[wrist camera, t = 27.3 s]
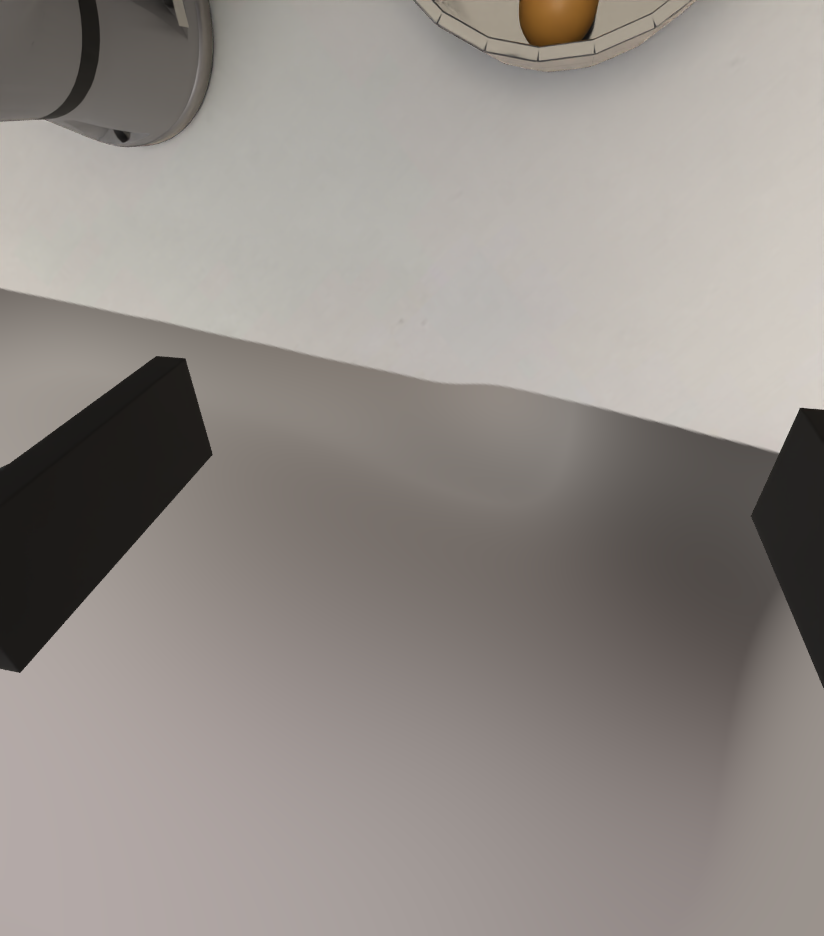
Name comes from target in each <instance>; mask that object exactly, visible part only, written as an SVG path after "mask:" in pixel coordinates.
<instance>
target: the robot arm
mask: <svg viewBox="0 0 824 936" xmlns="http://www.w3.org/2000/svg"><path fill="white" fill-rule="evenodd" d="M212 56H213V33H212V21H211V13H210V8H209V2H208V0H0V121H20V120H40V119H45V120H47V121H50V122H52V123H54V124H57V125H59V126H62V127H64V128H67V129H69V130H71V131H74V132H76V133H79V134H81V135H84V136H86V137H88V138H91V139H93V140H96V141H99V142H103V143H106V144H110V145H115V146H121V147H137V146H147V145H154V144H158V143H161V142H164V141H166V140H168V139H170V138H172V137H174V136H175V135H177V134H178V133H179V132H181V131H182V130H183V129H184V128H185V127H186V126H187V125H188V124H189V122H190V121H191V120H192V119H193V117H194V116H195V114H196V112H197V111H198V109H199V107H200V105H201V103H202V101H203V98H204V95H205V93H206V90H207V86H208V82H209V78H210V73H211V66H212ZM211 456H212V451H211V447H210V444H209V440H208V437H207V433H206V430H205V426H204V423H203V419H202V416H201V412H200V409H199V405H198V402H197V398H196V394H195V391H194V387H193V384H192V380H191V377H190V373H189V370H188V367H187V363H186V359H184V358H173V357H160V356H156V357H155V358H153V359H152V360H150V361H149V362H148V363H146V364H145V365H144V366H142V367H141V368H140V369H138V370H137V371H135V372H134V373H133V374H131V375H130V376H129V377H127V378H126V379H124V380H123V381H122V382H120V383H119V384H118V385H116V386H115V387H114V388H112V389H111V390H110V391H108V392H107V393H105V394H104V395H103V396H101V397H100V398H98V399H97V400H96V401H94V402H93V403H92V404H90V405H89V406H88V407H86V408H85V409H84V410H82V411H81V412H79V413H78V414H77V415H75V416H74V417H73V418H71V419H70V420H68V421H67V422H66V423H64V424H63V425H62V426H60V427H59V428H57V429H56V430H55V431H53V432H52V433H51V434H49V435H48V436H47V437H45V438H44V439H43V440H41V441H40V442H38V443H37V444H36V445H34V446H33V447H32V448H30V449H29V450H27V451H26V452H25V453H23V454H22V455H21V456H19V457H18V458H17V459H15V460H14V461H12V462H11V463H10V464H8V465H6V466H3V467H1V468H0V669H4V670H9V671H14V672H19V673H20V672H21V671H22V670H23V669H24V668H25V667H26V666H27V665H28V663H29V662H30V661H31V660H32V659H33V658H34V657H35V655H36V654H37V653H38V652H39V651H40V650H41V649H42V647H43V646H44V645H45V644H46V643H47V642H48V641H49V640H50V638H51V637H52V636H53V635H54V634H55V633H56V632H57V630H58V629H59V628H60V627H61V626H62V625H63V624H64V622H65V621H66V620H67V619H68V618H69V617H70V616H71V614H72V613H73V612H74V611H75V610H76V609H77V608H78V607H79V605H80V604H81V603H82V602H83V601H84V600H85V599H86V597H87V596H88V595H89V594H90V593H91V592H92V591H93V589H94V588H95V587H96V586H97V585H98V584H99V583H100V582H101V581H102V579H103V578H104V577H105V576H106V575H107V574H108V573H109V571H110V570H111V569H112V568H113V567H114V566H115V564H116V563H117V562H118V561H119V560H120V559H121V558H122V557H123V555H124V554H125V553H126V552H127V551H128V550H129V549H130V548H131V547H132V545H133V544H134V543H135V542H136V541H137V540H138V538H139V537H140V536H141V535H142V534H143V533H144V532H145V531H146V529H147V528H148V527H149V526H150V525H151V524H152V523H153V522H154V520H155V519H156V518H157V517H158V516H159V515H160V513H161V512H162V511H163V510H164V509H165V508H166V507H167V506H168V504H169V503H170V502H171V501H172V500H173V499H174V498H175V496H176V495H177V494H178V493H179V492H180V491H181V490H182V489H183V487H184V486H185V485H186V484H187V483H188V482H189V481H190V480H191V478H192V477H193V476H194V475H195V474H196V473H197V472H198V470H199V469H200V468H201V467H202V466H203V465H204V464H205V462H206V461H207V460H208V459H209V458H210V457H211ZM751 517H752V520H753V522H754V524H755V527H756V529H757V531H758V534H759V536H760V539H761V541H762V543H763V546H764V548H765V550H766V553H767V555H768V557H769V560H770V562H771V565H772V567H773V569H774V572H775V574H776V576H777V579H778V581H779V583H780V586H781V588H782V591H783V593H784V595H785V598H786V600H787V602H788V605H789V607H790V609H791V612H792V614H793V616H794V619H795V621H796V624H797V626H798V629H799V631H800V633H801V636H802V638H803V640H804V643H805V645H806V648H807V650H808V652H809V655H810V657H811V659H812V662H813V664H814V666H815V669H816V671H817V673H818V676H819V678H820V680H821V683H822V686H823V688H824V410H820V409H807V408H800V409H799V412H798V414H797V416H796V418H795V420H794V423H793V425H792V427H791V429H790V431H789V434H788V436H787V438H786V440H785V442H784V445H783V447H782V449H781V451H780V453H779V456H778V458H777V460H776V462H775V465H774V467H773V469H772V471H771V473H770V475H769V478H768V480H767V482H766V484H765V486H764V489H763V491H762V493H761V495H760V497H759V500H758V502H757V504H756V506H755V508H754V510H753V513H752V515H751Z"/></svg>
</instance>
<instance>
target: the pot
mask: <svg viewBox="0 0 824 936" xmlns="http://www.w3.org/2000/svg"><path fill="white" fill-rule="evenodd" d="M413 1H414V2H415V3H416V4H417V5H418V6H419V7H420V8H421V9H422V10H423V11H424V12H425V13H426V15H427V16H428V17H429V18H430V19H431V20H432V21H433V22H434V23H435V24H436V25H438V26H439V27H440V28H442V29H444V30H446V31H447V32H449V33H451V34H453V35H454V36H456V37H458V38H460V39H461V40H463V41H465V42H467V43H468V44H470V45H472V46H474V47H475V48H477V49H479V50H481V51H482V52H484V53H486V54H488V55H490V56H491V57H493V58H495V59H497V60H499V61H501V62H502V63H504V64H507V65H512V66H517V67H522V68H526V69H532V70H537V71H542V72H554V71H562V70H572V69H578V68H586V67H591V66H594V65H597V64H599V63H601V62H604V61H606V60H609V59H611V58H614V57H616V56H618V55H620V54H622V53H625V52H627V51H629V50H631V49H634V48H636V47H637V46H639V45H641V44H642V43H643V42H645V41H646V40H647V39H649V38H650V37H651V36H653V35H654V34H655V33H657V32H658V31H659V30H661V29H662V28H663V27H664V26H666V25H667V24H668V23H670V22H671V21H672V20H674V19H675V18H676V17H678V16H679V15H680V14H682V13H683V12H684V11H685V10H686V9H687V8H688V7H689V6H691V5H692V4H693V3H694V2H695V1H696V0H599V3H598V8H597V13H596V16H595V18H594V21H593V23H592V25H591V27H590V29H589V31H588V32H587V34H586V35H585V36H584V38H583V39H582V40H581V41H574V42H567V43H560V44H552V45H545V46H535V45H530V44H529V43H528V41H527V40H526V38H525V36H524V35H523V32H522V29H521V26H520V21H519V0H413Z"/></svg>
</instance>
